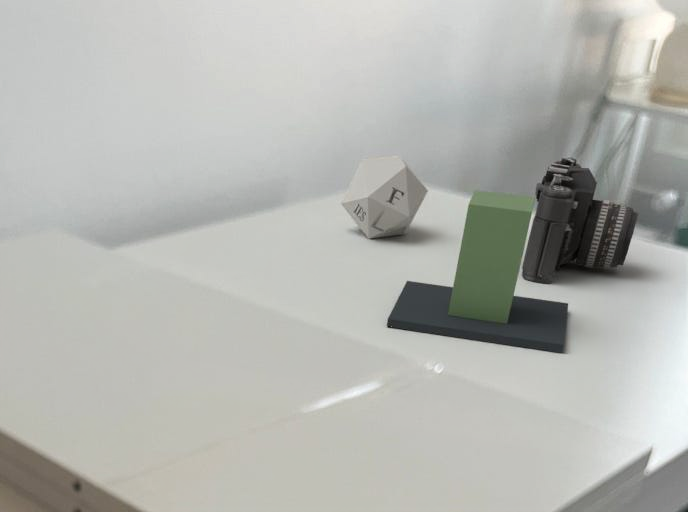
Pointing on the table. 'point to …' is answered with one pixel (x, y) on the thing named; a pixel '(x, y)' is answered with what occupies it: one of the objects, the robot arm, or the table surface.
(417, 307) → the mat
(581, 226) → the camera
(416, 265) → the table surface
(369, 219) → the die
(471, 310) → the green block
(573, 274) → the table surface
